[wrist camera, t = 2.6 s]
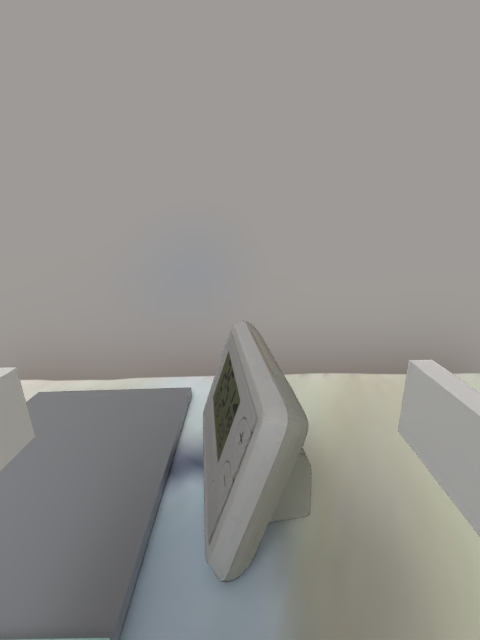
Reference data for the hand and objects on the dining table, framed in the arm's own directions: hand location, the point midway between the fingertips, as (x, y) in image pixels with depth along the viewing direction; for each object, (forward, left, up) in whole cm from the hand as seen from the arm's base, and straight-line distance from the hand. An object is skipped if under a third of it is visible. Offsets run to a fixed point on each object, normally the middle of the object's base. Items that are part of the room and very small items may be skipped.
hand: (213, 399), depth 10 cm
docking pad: (+14, -10, -13) cm, 22 cm away
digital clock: (0, -10, -13) cm, 17 cm away
